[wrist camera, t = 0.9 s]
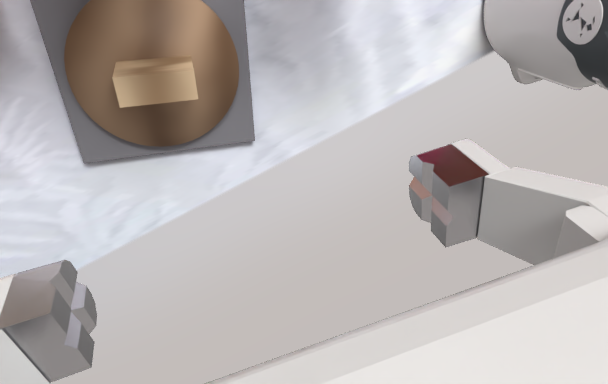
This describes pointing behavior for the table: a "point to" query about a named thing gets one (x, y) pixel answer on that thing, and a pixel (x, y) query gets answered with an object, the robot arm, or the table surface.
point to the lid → (152, 68)
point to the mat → (105, 146)
